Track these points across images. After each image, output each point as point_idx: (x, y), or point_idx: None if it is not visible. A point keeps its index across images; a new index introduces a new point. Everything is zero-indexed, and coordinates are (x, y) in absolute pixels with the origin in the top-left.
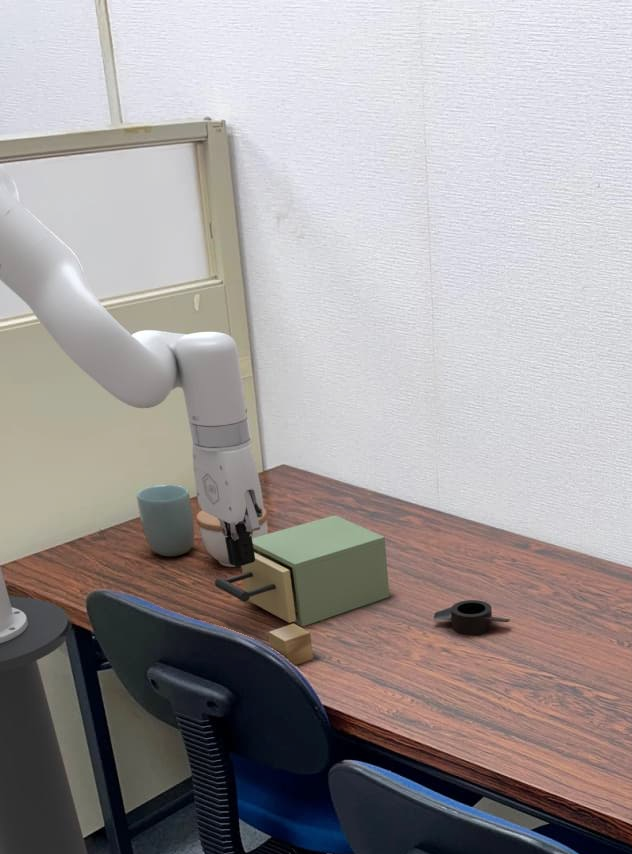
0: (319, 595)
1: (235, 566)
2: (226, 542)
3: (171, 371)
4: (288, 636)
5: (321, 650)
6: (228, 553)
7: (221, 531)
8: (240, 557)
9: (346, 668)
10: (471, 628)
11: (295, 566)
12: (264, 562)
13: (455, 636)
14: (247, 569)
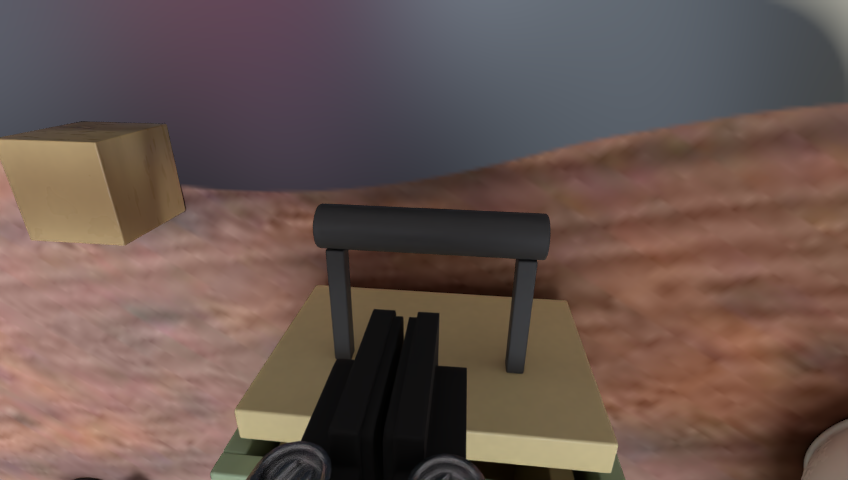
0: None
1: (838, 424)
2: (415, 407)
3: None
4: (25, 171)
5: (148, 252)
6: (425, 350)
7: None
8: (347, 364)
9: (17, 232)
10: None
11: (216, 465)
12: None
13: (77, 467)
14: (545, 378)
